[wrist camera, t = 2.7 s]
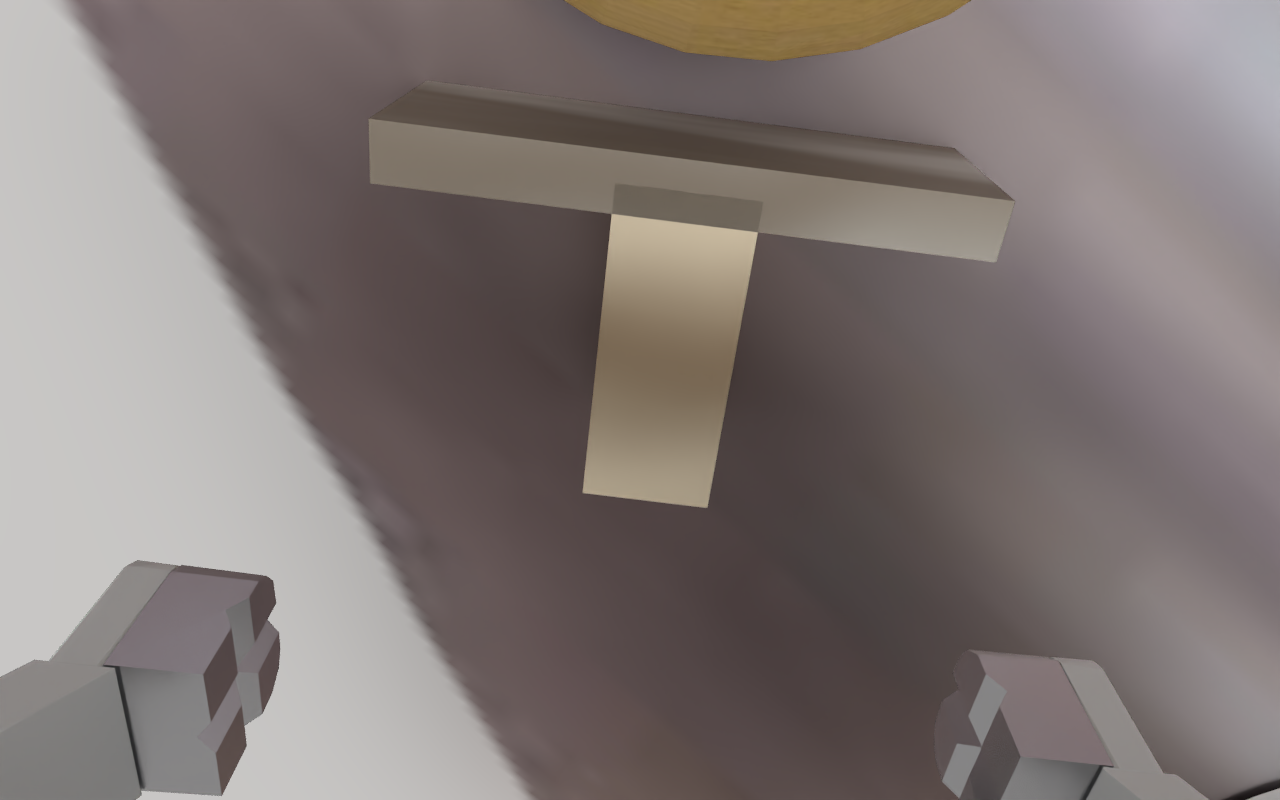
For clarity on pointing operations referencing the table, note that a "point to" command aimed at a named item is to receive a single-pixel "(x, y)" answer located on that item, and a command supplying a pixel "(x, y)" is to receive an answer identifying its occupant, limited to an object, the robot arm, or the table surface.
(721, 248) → the scraper
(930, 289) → the table surface
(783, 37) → the pot
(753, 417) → the table surface
